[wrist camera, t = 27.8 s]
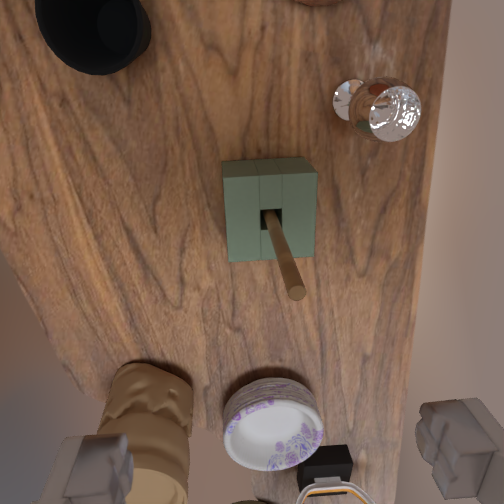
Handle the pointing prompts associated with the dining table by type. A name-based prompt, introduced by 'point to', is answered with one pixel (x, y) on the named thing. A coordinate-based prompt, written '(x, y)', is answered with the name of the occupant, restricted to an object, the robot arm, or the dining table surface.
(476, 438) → the robot arm
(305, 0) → the orange round piece
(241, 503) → the vase
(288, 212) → the stick stand
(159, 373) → the container
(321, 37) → the dining table surface
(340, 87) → the wineglass
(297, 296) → the stirring stick
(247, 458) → the paper bowls
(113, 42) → the cup
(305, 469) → the lamp
